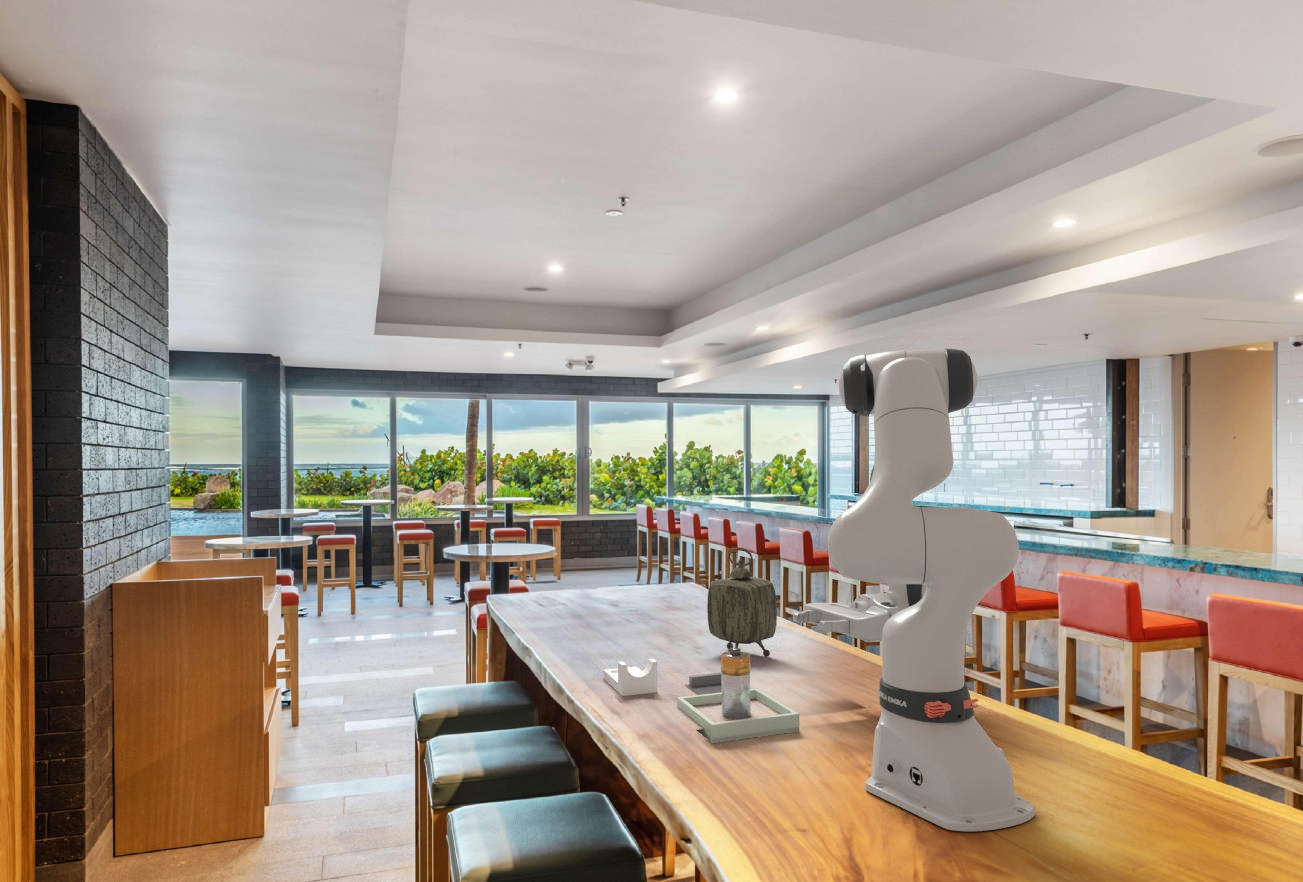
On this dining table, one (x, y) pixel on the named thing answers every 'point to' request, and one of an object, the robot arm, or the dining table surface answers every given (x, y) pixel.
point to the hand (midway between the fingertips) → (807, 622)
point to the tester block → (705, 683)
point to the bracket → (633, 678)
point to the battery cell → (735, 684)
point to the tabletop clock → (742, 607)
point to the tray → (743, 727)
